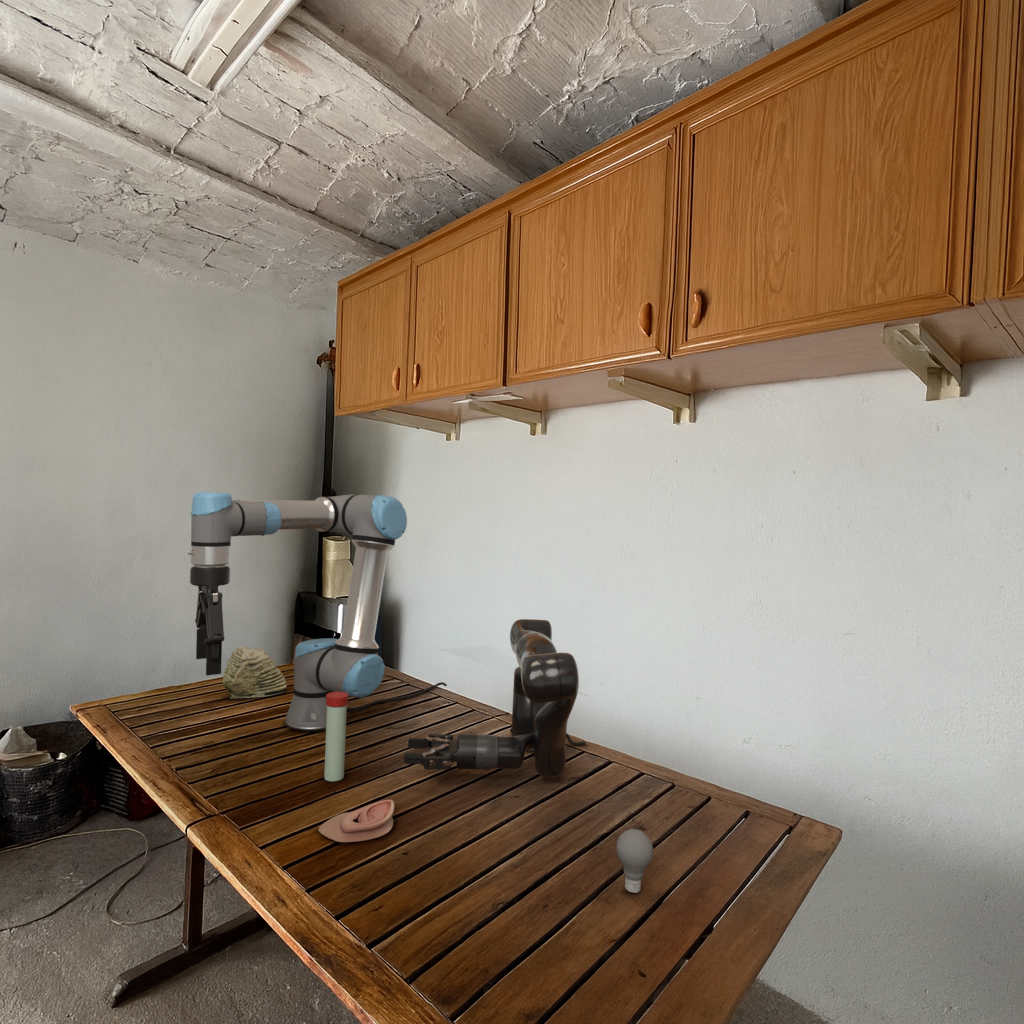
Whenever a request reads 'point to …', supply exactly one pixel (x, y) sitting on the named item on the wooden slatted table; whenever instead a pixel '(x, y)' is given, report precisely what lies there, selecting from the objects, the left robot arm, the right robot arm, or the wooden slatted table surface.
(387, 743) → the wooden slatted table surface
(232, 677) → the fossil
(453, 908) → the wooden slatted table surface
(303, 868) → the wooden slatted table surface
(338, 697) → the lid
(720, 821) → the wooden slatted table surface
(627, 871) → the light bulb
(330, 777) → the pale green slim bottle
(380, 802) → the anatomical model
